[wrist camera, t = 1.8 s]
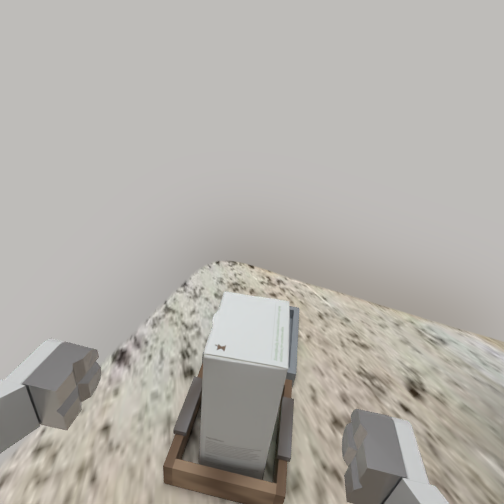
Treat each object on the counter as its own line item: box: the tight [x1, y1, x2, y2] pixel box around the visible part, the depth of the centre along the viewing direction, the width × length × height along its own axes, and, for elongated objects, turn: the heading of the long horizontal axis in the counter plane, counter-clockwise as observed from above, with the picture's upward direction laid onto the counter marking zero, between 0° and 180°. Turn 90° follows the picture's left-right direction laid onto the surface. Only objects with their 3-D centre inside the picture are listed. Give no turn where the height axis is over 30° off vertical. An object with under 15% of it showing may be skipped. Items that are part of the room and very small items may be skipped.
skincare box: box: [199, 291, 290, 480], centre depth 29 cm, size 8×7×16 cm
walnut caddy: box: [163, 363, 294, 504], centre depth 32 cm, size 11×12×4 cm
